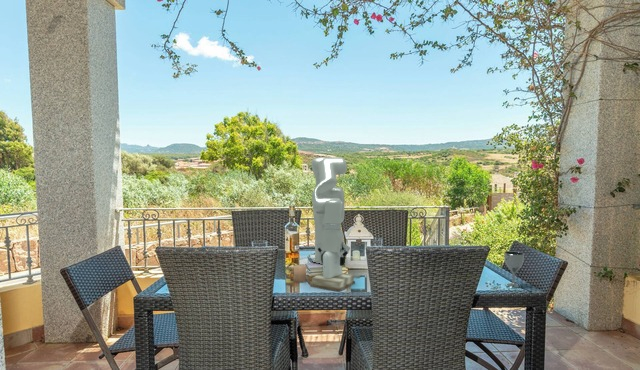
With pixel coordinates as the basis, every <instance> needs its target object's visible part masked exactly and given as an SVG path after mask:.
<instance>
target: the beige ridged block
mask: <svg viewBox="0 0 640 370" xmlns="http://www.w3.org/2000/svg"><path fill="white" fill-rule="evenodd" d="M354 279H355V277H354V274H349V273H344V272H342V274H341V275H338V276H335V277H332V278H328V279H327V278H324V277H323V272H321V273H319V274H318V275H315V276H314V277H312V278H311V283H310V287H312V288H314V289H315V288H317V289H321V290H328V291H333V292H339V293H340V292H342V291H343V290H346V289H347V288H349V287H352V286H353V285H355V284H356V280H354Z"/></svg>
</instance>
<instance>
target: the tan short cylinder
mask: <svg viewBox="0 0 640 370" xmlns="http://www.w3.org/2000/svg"><path fill="white" fill-rule="evenodd" d="M293 282H294V283H305V282H307V265H305V264H295V265H293Z"/></svg>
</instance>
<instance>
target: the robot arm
mask: <svg viewBox="0 0 640 370" xmlns="http://www.w3.org/2000/svg"><path fill="white" fill-rule="evenodd" d="M311 169H312V173H313V175H314V178H315V187H314V188H313V191H312V194H311V195H312V196H311V201H312V210H313V211H312V212H313V213H312V215H313V222H314V224H313V225H314V258H315V260H313V259H311V260H312V261H313V262H317V263H320V264H319V265H323V254H324V253H325V252H327V251H328V252H333V253H339V254H340V256H341V257H340V266H342V267H343V266H344V265H345V264H346V256H347V255H349V253H350V250H351V247H350V246H348V245H347V244H346V243H345V240H344V232H343V230H342V223H343V222H344V220H345V191H344V189H343V188H342V187H339V186H337V184H338V180H337V179H338V178H337V175H344V174H347V170H348V165H347V162H346V159H345V158H343V157H339V156H338V157H337V156H333V157H332V156H330V157H328V156H323V157H322V156H321V157H315V158H313V159H312V160H311ZM313 262H312V263H313Z"/></svg>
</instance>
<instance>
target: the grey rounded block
mask: <svg viewBox="0 0 640 370" xmlns="http://www.w3.org/2000/svg"><path fill="white" fill-rule="evenodd" d="M340 257H341V256H340V254H339V253H333V252H328V251H327V252H325V253H324V254H323V264H322V273H323V277H324V278H327V279H328V278H332V277H335V276H338V275H341V274H342V273H343V266H340Z"/></svg>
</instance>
